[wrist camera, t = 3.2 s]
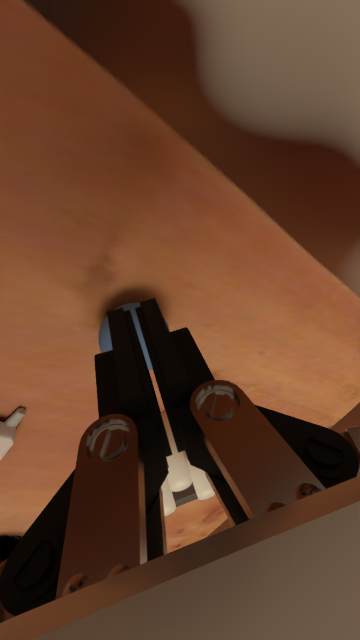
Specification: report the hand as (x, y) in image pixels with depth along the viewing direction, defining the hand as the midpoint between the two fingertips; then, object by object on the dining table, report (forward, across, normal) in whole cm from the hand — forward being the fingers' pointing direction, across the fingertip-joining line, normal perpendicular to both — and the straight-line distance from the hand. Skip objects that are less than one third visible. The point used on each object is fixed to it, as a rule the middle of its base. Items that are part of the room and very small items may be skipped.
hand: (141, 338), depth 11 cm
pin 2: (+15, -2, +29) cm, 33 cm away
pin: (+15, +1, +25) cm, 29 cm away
